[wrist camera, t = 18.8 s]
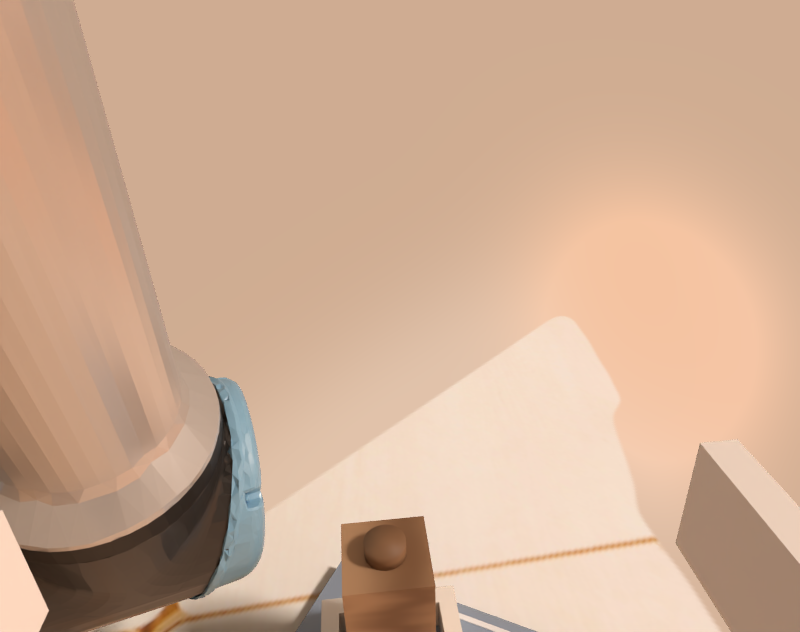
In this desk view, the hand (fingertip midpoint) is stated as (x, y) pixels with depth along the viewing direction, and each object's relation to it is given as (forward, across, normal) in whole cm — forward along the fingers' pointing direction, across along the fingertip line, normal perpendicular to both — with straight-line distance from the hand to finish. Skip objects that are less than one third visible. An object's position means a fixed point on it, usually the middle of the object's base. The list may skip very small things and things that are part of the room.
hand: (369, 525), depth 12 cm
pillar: (+16, +1, -31) cm, 35 cm away
